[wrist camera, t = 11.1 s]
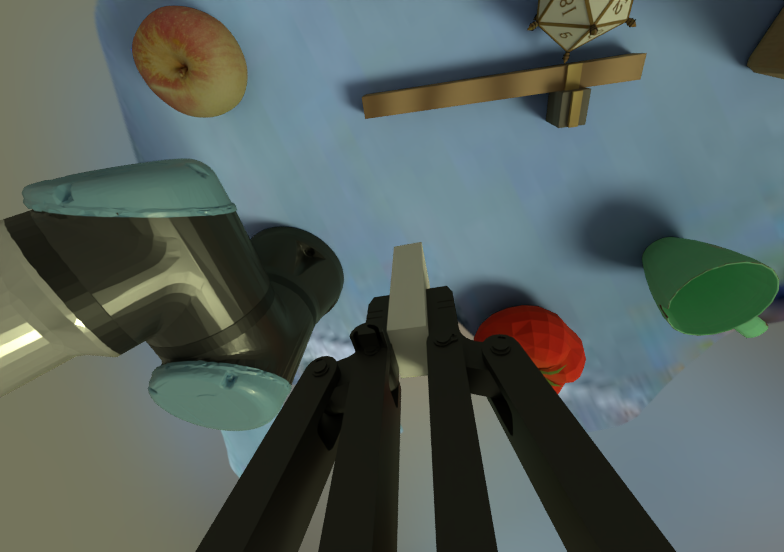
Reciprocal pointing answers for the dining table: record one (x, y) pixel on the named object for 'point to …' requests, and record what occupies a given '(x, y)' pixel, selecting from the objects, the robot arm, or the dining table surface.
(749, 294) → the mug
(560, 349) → the tomato
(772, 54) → the wooden block
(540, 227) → the dining table surface
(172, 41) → the apple
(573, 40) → the game die
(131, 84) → the dining table surface
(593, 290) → the dining table surface
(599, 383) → the dining table surface
